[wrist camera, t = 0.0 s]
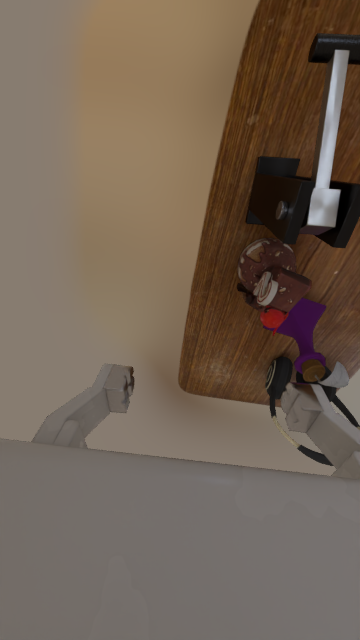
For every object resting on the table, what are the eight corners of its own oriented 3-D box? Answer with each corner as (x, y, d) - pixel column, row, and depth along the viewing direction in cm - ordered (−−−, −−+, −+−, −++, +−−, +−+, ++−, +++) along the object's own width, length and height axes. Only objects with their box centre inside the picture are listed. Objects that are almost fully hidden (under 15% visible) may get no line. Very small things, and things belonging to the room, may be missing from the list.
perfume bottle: (294, 328, 44) (340, 411, 30) (259, 317, 44) (287, 396, 29) (318, 296, 40) (386, 374, 25) (280, 283, 39) (326, 355, 25)
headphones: (316, 382, 52) (368, 483, 36) (251, 374, 52) (273, 470, 36) (334, 354, 47) (404, 457, 31) (262, 345, 47) (294, 442, 31)
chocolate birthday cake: (264, 293, 41) (291, 350, 28) (222, 278, 40) (231, 329, 27) (297, 243, 36) (347, 285, 23) (250, 223, 35) (276, 257, 22)
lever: (306, 54, 19) (322, 18, 16) (356, 56, 19) (380, 21, 16) (282, 232, 20) (295, 224, 18) (328, 235, 20) (347, 228, 18)
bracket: (254, 156, 30) (303, 149, 15) (301, 159, 30) (396, 154, 15) (241, 221, 34) (270, 264, 20) (282, 224, 34) (341, 270, 20)
